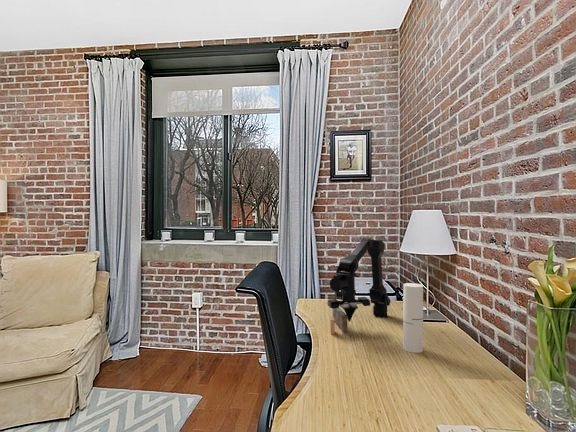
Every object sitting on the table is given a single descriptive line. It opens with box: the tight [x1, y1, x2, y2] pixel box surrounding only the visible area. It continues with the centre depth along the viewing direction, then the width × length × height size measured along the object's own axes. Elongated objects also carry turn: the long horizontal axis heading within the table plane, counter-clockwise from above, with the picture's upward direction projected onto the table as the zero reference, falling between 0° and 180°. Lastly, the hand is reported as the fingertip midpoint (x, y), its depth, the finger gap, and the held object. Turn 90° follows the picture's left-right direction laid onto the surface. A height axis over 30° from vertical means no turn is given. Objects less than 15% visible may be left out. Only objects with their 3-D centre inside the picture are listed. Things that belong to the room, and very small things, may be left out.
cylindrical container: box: [402, 282, 424, 354], centre depth 127 cm, size 7×7×25 cm
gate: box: [334, 306, 348, 333], centre depth 151 cm, size 16×2×7 cm, turn 7°
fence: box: [329, 308, 336, 335], centre depth 156 cm, size 4×27×8 cm, turn 176°
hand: (349, 321), depth 149 cm, fingers closed
